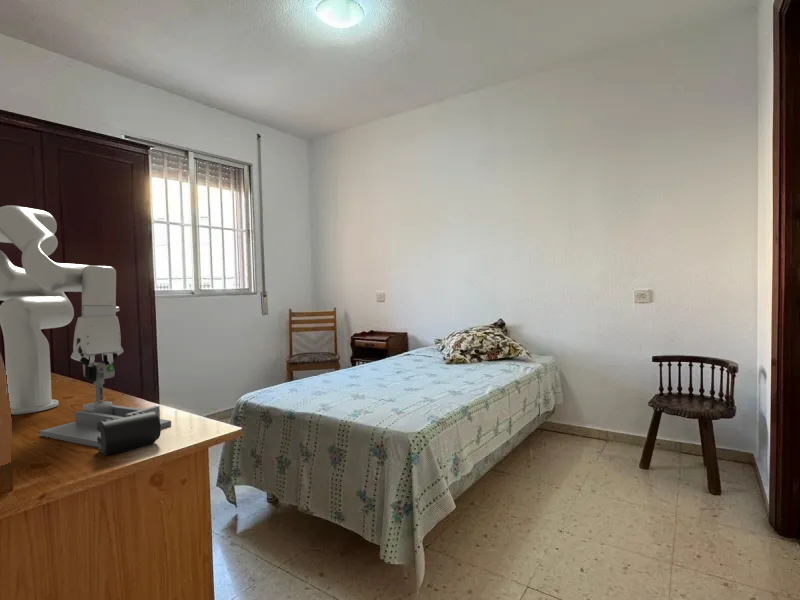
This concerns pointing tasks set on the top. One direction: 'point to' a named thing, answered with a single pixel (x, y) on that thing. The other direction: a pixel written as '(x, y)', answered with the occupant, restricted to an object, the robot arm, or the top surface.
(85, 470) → the top surface
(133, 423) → the end cap
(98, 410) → the grey matte cube
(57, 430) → the grey railed base plate
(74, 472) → the top surface
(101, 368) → the mechanical component
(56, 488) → the top surface
